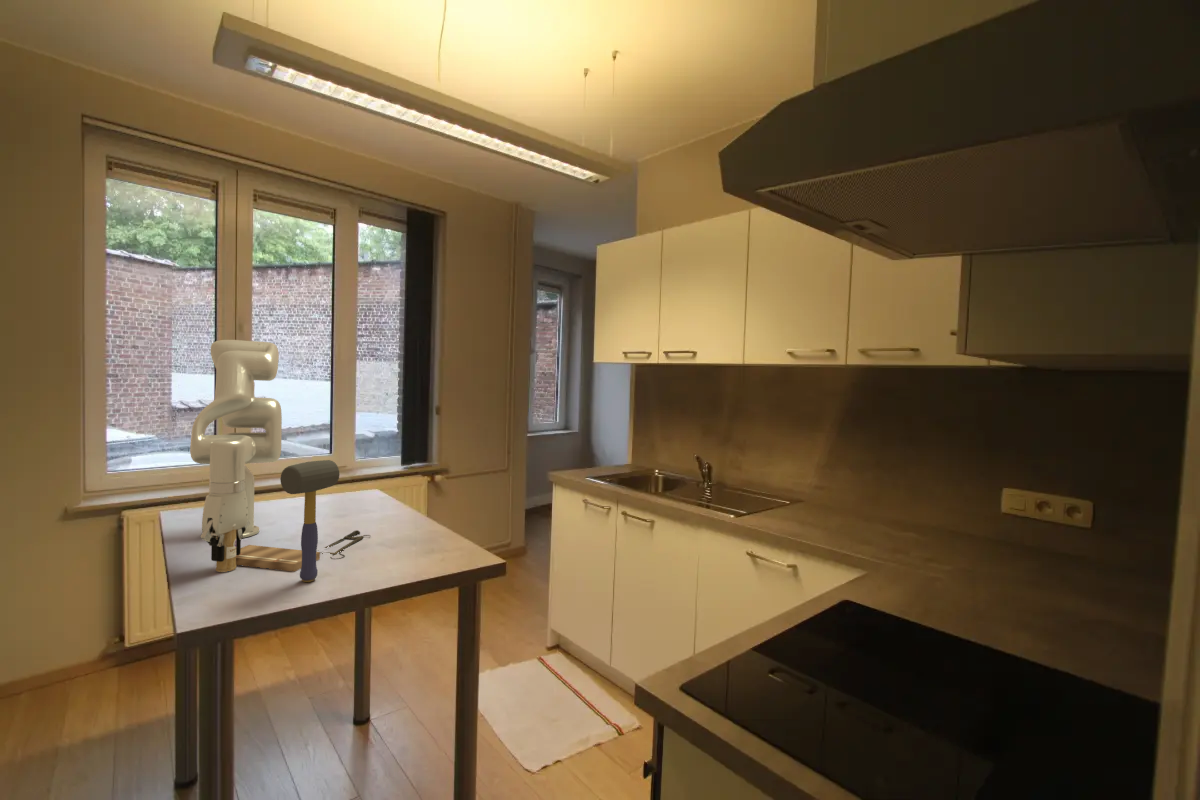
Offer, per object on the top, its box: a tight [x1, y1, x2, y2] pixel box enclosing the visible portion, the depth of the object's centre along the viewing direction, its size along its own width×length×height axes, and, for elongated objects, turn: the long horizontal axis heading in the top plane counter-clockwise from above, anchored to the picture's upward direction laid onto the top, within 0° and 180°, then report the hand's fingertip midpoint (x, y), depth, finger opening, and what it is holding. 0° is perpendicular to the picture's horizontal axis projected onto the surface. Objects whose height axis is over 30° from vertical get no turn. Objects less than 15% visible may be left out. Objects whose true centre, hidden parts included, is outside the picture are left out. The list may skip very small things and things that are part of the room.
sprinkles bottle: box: [215, 524, 237, 573], centre depth 143 cm, size 5×5×13 cm
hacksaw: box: [321, 530, 371, 560], centre depth 167 cm, size 24×10×2 cm, turn 172°
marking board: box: [236, 544, 321, 572], centre depth 151 cm, size 22×10×2 cm, turn 81°
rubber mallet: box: [280, 459, 340, 583], centre depth 138 cm, size 12×8×30 cm, turn 159°
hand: (226, 556), depth 143 cm, fingers closed on sprinkles bottle, 4 cm apart
